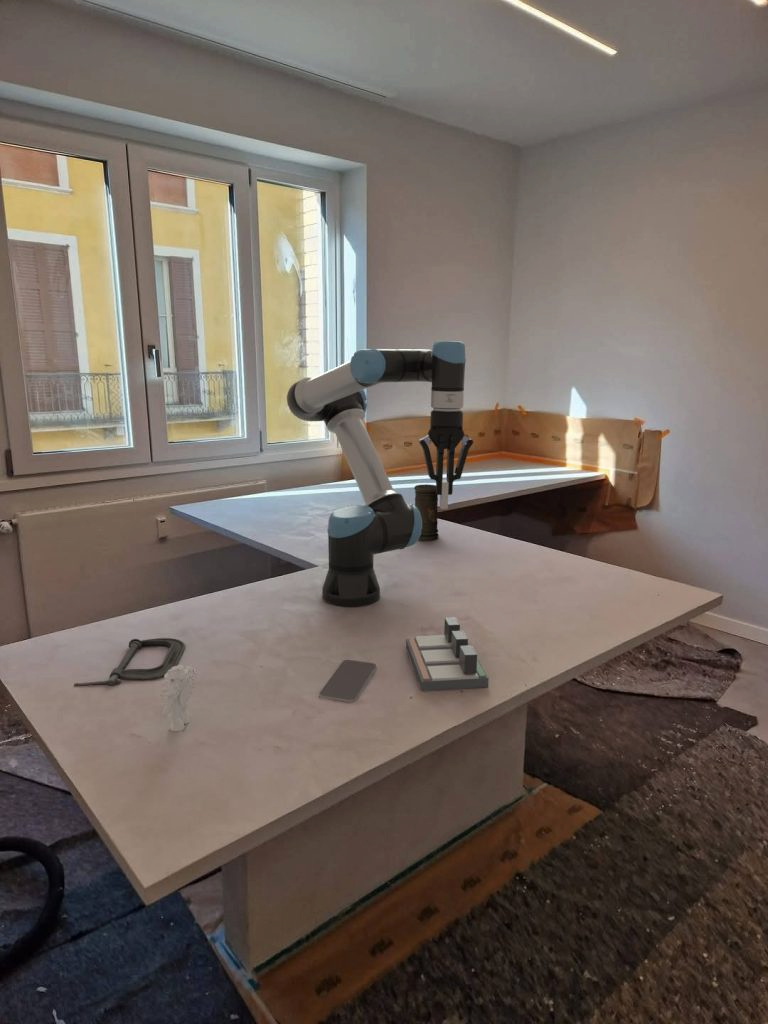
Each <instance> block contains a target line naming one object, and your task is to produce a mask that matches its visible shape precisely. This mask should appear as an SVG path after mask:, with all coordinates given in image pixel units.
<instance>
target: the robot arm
mask: <svg viewBox="0 0 768 1024" xmlns="http://www.w3.org/2000/svg"><path fill="white" fill-rule="evenodd" d="M466 360H467V358H466V345H465V343H464V342H463V341H461V340H460V341H459V340H456V341H455V340H435V341H434V342H433V343H432V348H431V349H420V348H419V349H418V348H409V349H400V348H398V349H397V348H396V349H394V348H386V349H385V348H371V347H370V348H362V349H358V350H356V351H354V353H353V356H351V359H350V360H349V361H347V362H344V363H343V364H341V365H339V366H337V367H336V366H335V368H333V369H332V368H331V369H330V370H328V371H326V372H323V373H321V374H319V375H317V376H315V377H305V378H301V379H300V380H298V381H295V382H294V383H292V385H290V388H289V389H288V391H287V395H286V402H287V407H288V409H289V410H290V412H291V413H292V414H293V416H295V417H296V418H298V419H299V420H301V421H305V422H324V424H325V425H326V429H327V430H328V431H329V432H330V433H333V434H335V436H336V437H337V441H338V443H339V445H340V447H341V450H342V452H343V454H344V457H345V459H346V461H347V464H348V466H349V468H350V471H351V474H352V476H353V477H354V480H355V482H356V484H357V487H358V489H359V492H360V494H361V496H362V498H363V501H364V503H365V505H355V506H353V505H349V506H344V507H341V508H338V509H336V510H335V511H333V512H331V514H330V515H329V518H328V522H327V523H328V524H327V537H328V539H327V540H328V546H327V547H328V570H327V573H326V576H325V579H324V582H323V585H322V591H321V593H322V595H321V597H322V599H323V601H325V602H326V603H328V604H331V605H334V606H338V607H352V608H353V607H362V606H368V605H370V604H373V603H376V602H377V601H378V600H379V599H380V598H381V588H380V584H379V582H378V577H377V574H376V572H375V568H374V556H375V555H377V554H383V553H387V552H393V551H397V550H404V549H405V548H408V547H411V546H414V545H415V544H416V543H417V542H418V541H419V540H418V539H419V538H420V535H421V529H422V518H421V514H420V512H419V510H418V508H417V507H416V506H415V504H413V503H409V502H408V503H406V501H405V499H404V496H403V495H402V494H401V493H400V492H398V491H397V492H396V491H395V490H394V488H393V486H392V485H393V484H392V483H391V481H390V479H389V477H388V475H387V472H386V470H385V468H384V465H383V464H382V463H383V462H382V461H381V459H380V456H379V455H378V452H377V449H376V447H375V445H374V443H373V442H372V439H371V437H370V434H369V432H368V430H367V428H366V426H365V423H364V420H365V418H366V411H367V408H368V403H367V402H366V401H367V395H366V392H365V389H368V388H371V387H373V386H376V385H378V384H379V385H380V384H382V383H402V382H403V383H406V382H408V383H410V382H422V383H424V382H425V383H431V387H430V388H431V389H430V390H431V393H430V394H431V396H430V407H431V411H430V423H429V426H430V427H429V430H428V432H427V435H426V436H424V437H422V438H418V443H419V445H420V446H421V448H422V451H423V456H424V461H425V464H426V471H427V474H428V475H427V476H428V477H429V478H430V480H434V481H435V485H436V493H437V495H438V496H439V508H440V509H441V510H448V509H449V507H448V506H449V495H450V496H451V495H453V492H454V491H453V490H454V487H453V486H454V482H455V481H456V480H460V479H461V478H462V475H463V470H464V468H465V463H466V460H467V457H468V454H469V450H470V449H471V447H472V445H473V443H474V440H473V439H471V438H470V437H467V436H466V435H465V432H464V430H463V423H464V421H463V420H464V412H463V410H462V409H463V408H464V396H465V394H464V393H465V392H464V391H465V372H466V362H467V361H466ZM430 441H431V442H432V444H433V445H434V447H435V448H436V461H435V462H436V463H435V464H436V465H435V466H436V468H435V470H434V465H433V460H432V455H431V450H430V448H429V446H430V444H431V443H430ZM460 443H461V445H462V446H461V448H460V452H459V454H458V455H459V456H458V459H457V462H456V466H455V453H456V448H457V447H458V446H459V444H460ZM445 450H446V452H447V453H446V454H447V455H446V479H445V480H444V479H443V478H444V477H443V475H444V454H445Z"/></svg>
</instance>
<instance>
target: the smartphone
mask: <svg viewBox="0 0 768 1024" xmlns="http://www.w3.org/2000/svg"><path fill="white" fill-rule="evenodd" d="M376 670H377V664H376V663H373V662H367V661H362V660H361V661H360V660H356V659H355V660H352V659H343V660H342V661H341V662H340V664H339V665H338V667H337V668H336V669H335V671H334V672H333V673H332V674H331V676H330V678H329V679H328V680H327V681H326V683H324V685H323V687H322V688H321V690H320V691H318V697H319V698H322V699H326V700H336V701H338V702H344V703H345V702H346V703H355V702H356V701H357V700H358V698H359V697H360V695H361V693H362V692H363V691H364V689H365V688H366V686H367V684H368V683H369V681H370V680H371V678H372V676H373V674H374V673H375V671H376Z"/></svg>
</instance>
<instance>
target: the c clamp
mask: <svg viewBox="0 0 768 1024" xmlns="http://www.w3.org/2000/svg"><path fill="white" fill-rule="evenodd" d="M147 647H165V648H167V649H168V648H169V649H168V651H167V652H166V655H165V657H164V658H163V661H162V663H161V664H160V665H157V666H155V667H152V668H129V669H126V668H127V666H128V664H129V662H130V661H131V660H132V659H133V657H134V655H135V653H136V652H137V651H139V650H142V648H147ZM128 649H129V650H128V651H127V652H126V654H125V655H124V657H123V658H122V659H121V662H120V663H119V665H118V666H117V667H114V669H112V671H111V672H110V674H109V679H108V680H100V681H99V680H97V681H89V682H74V684H73V687H75V688H76V687H86V686H87V687H88V686H89V687H90V685H91V686H101V685H107V686H109V687H113V686H115V685H116V684H117V685H119V684H120V683H121V680H122V679H123V680H127V681H130V680H131V681H154V680H160V679H164V678H165V677H164V675H165V674H166V673H167V671H168V670H170V669H171V668H172V667H174V666H178V665H179V662H180V660H181V658H182V657H183V655H184V652H185V649H186V645H185V643H184V641H182V640H180V639H176V638H169V637H166V638H165V637H164V638H161V637H160V638H149V639H143V640H142V639H141V640H140V639H138V638H133V639H131V640H130V641H129V642H128Z"/></svg>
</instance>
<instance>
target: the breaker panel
mask: <svg viewBox="0 0 768 1024" xmlns="http://www.w3.org/2000/svg"><path fill="white" fill-rule="evenodd" d="M468 645H470V643H469V642H468ZM405 648H406V651H407V654H408V656H409V659H410V661H411V662H410V663H411V665H412V667H413V671H414V674H415V676H416V679H417V681H418V685H419V688H420V690H421V692H428V691H429V692H430V691H431V692H432V691H446V690H447V691H448V690H449V691H450V690H463V689H464V690H465V689H483V688H489V676H488V675H487V673H486V672H485V669H484V668H483V666H482V663H480V661H479V659H478V658H477V671H476V674H464V673H463V671H462V669H461V667H460V665H459V658H460V657H458V658H456V657H455V655H454V653H453V651H452V649H451V642H450V643H448V641H447V639H446V637H445V635H444V634H436V635H435V634H433V635H417V636H415V637H411V638H409V637H408V638H406V639H405Z"/></svg>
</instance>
